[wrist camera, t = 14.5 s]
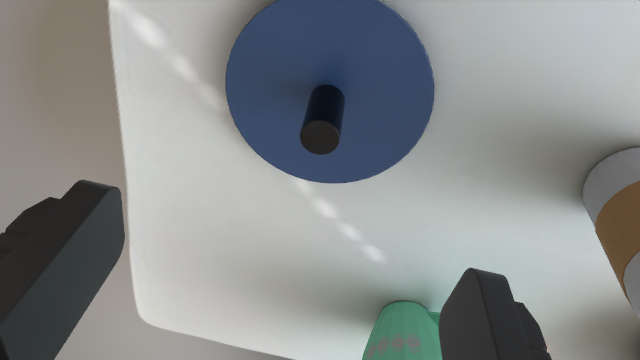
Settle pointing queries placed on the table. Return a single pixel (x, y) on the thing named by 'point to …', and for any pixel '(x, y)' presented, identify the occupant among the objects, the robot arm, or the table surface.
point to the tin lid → (330, 88)
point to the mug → (404, 334)
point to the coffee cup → (618, 216)
